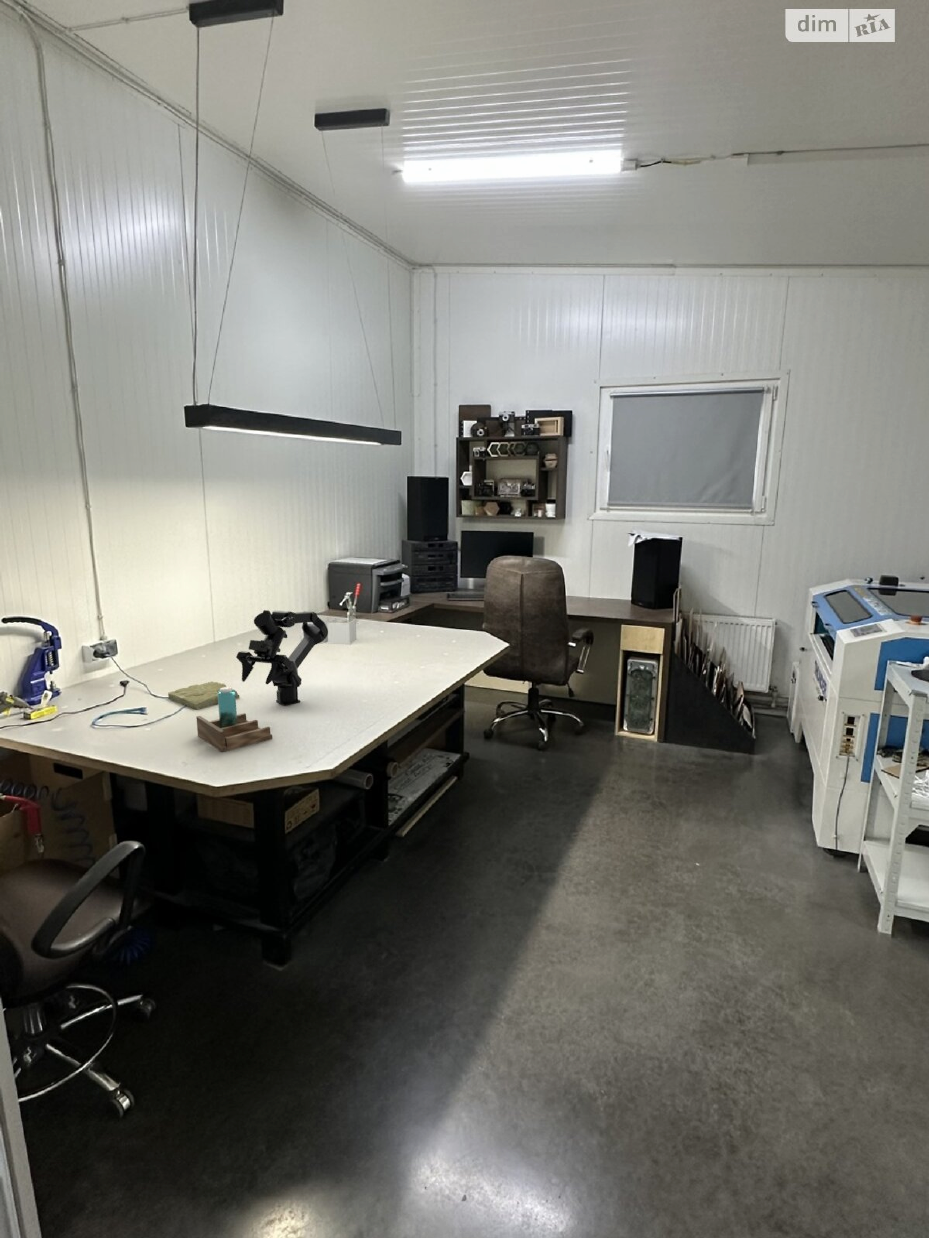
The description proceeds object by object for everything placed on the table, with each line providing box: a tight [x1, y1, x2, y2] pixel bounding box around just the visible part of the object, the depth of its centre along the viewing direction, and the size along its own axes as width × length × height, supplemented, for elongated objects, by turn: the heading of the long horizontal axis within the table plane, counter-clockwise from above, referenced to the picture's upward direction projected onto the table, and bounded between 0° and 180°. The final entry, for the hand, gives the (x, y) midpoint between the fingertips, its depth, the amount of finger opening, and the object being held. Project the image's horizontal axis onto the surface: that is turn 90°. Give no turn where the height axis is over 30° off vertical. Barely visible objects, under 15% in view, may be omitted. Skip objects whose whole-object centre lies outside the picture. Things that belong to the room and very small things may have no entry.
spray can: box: [217, 686, 238, 728], centre depth 211 cm, size 5×5×14 cm
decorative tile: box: [167, 681, 240, 710], centre depth 247 cm, size 19×20×4 cm
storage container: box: [299, 617, 357, 646], centre depth 336 cm, size 25×11×11 cm, turn 82°
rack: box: [196, 713, 273, 753], centre depth 208 cm, size 16×18×6 cm
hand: (254, 682), depth 223 cm, fingers open, 9 cm apart
